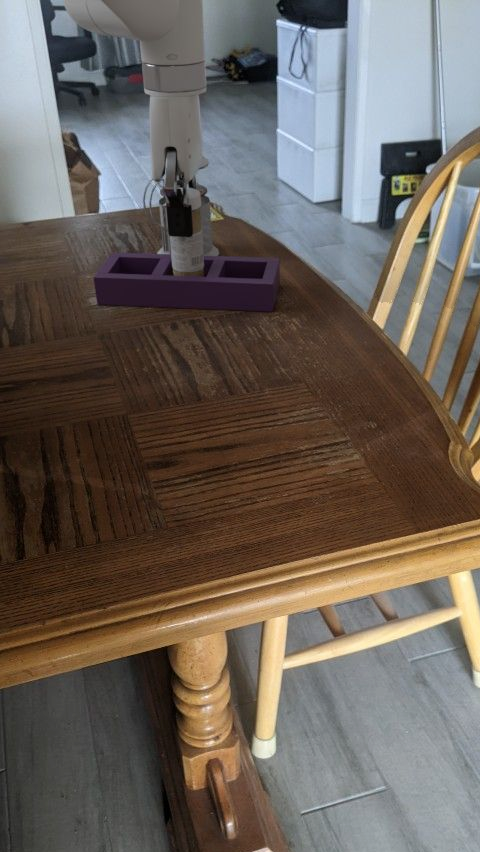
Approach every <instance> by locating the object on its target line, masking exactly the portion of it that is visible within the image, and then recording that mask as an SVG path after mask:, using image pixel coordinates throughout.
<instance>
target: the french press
mask: <svg viewBox="0 0 480 852" xmlns="http://www.w3.org/2000/svg"><path fill="white" fill-rule="evenodd" d="M209 163H210V161H209V159H208V158H207V157H205V156H203V155H202V164H201V166H200V168H199V170H198V171H200V170H203V169H205V168H206V167H208V166H209ZM153 181H154V180H153V178H152V177H151V179H150V180H149V181H148V182H147V184H146V186H145V189H144V192H143V197H142V203H143V211H144V214H145V217H146V218H147V220H148V222H150V223H151V224H152V225H154V226H157V227H158V228H160V229H161V236H162V237H161V239H162V240H161V241H162V247H161V248H159V250H158V251H157V253H156V254H171V246H170V236H169V234H168V222H167V210H166V206H165V207H164V208H163V206H164V205H166V192H165V178H162V179H161V180H160V181H159V182H156V183H154V185H153V187H152V189H151V192H150V196H149V202H148V204H149V213H150V216H151V218H152V220H151V218H150V216H149V214H148V212H147V206H146V196H147V195H146V194H147V191H148V188H149V186H150V184H152V182H153ZM161 182H163V183H162V184H163V185H161V184H160V183H161ZM156 187H159V188H161V189H160V190H159V194H160V196H162V197H161V198H160V199H159V200H158V206H159V216H160V217H159V219H160V224H159V223H158V222H157V221H156V219H155V217H154V214H153V210H152V200H153V195H154V191H155V190H156ZM198 191H199V192H200V196H201V206H200V217H201V229H202V238H203V256H220V251H219V248H218V247H216V246H215V245H214V244H213V235H212V234H213V233H212V232H213V231H212V220H211V216H212V214H211V200H210V198H209V196H207V193H208V188H207V187H206V186H205V185H202V184H200V183H198ZM164 215H165V216H164ZM164 223H165V224H164ZM165 231H166V233H165Z"/></svg>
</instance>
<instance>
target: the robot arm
mask: <svg viewBox="0 0 480 852" xmlns="http://www.w3.org/2000/svg"><path fill="white" fill-rule="evenodd" d="M62 3H63V4H62V5H63V6H64V9H65V11H66V13H67V14H68V16H69V17H70V18H71V20H72V21H73V22H74V23H75V24H77V25H78V26H79V27H81V28H82V29H84V30H85V31H88V32H90V33H93V34H96V35H101V36H107V37H113V38H121V39H127V40H134V41H139V47H140V60H141V70H142V81H143V82H142V83H143V92H144V94H146V95H148V96H149V115H148V116H149V144H150V146H149V147H150V159H151V160H150V161H151V163H150V164H151V179H152V178H153V180H152V181H154V182H156V183H157V182H159V181H160V180H161V179H164V180H165V192H166V203H165V207H166V210H167V222H168V234H169V236H172V237H192V235H193V221H192V205H189V188H193V189H196V190H198V185H199V178H198V172H199V171H200V170H199V168H200V166H201V164H202V156H203V134H202V133H203V132H202V117H201V107H200V106H201V102H200V95H202V94H205V93H206V92H207V70H206V69H207V68H206V51H205V49H206V48H205V27H204V7H203V6H204V5H203V0H62ZM163 177H164V178H163ZM159 183H160V182H159ZM178 188H183V192H182V191H181V189H178ZM182 193H183V194H182Z"/></svg>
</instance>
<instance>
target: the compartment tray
mask: <svg viewBox="0 0 480 852" xmlns="http://www.w3.org/2000/svg"><path fill="white" fill-rule="evenodd" d="M280 259H281V258H280V257H258V256H257V257H256V256H255V257H253V256H227V255H226V256H225V255H218V256H204V267H203V269H204V277H195V276H173V267H172V258H171V254H157V253H142V252H141V253H139V252H115V251H114V252H111V253H110V254H109V255H108V257H107V258H106V259H105V261H104V262H103V263H102V265H101V266H100V268H99V269H98V271H96V273H95V274H94V276H93V284H94V291H95V297H96V304H97V305H98V306H118V307H119V306H120V307H122V306H123V307H143V308H144V307H147V308H148V307H149V308H169V309H172V308H173V309H194V310H196V309H198V310H220V311H221V310H222V311H244V312H245V311H246V312H266V313H267V312H270V313H273V312H274V309H275V305H276V301H277V297H278V293H279V289H280V285H281V282H280V281H281V278H280V277H281V273H280V271H281V270H280V269H281V266H280V265H281V260H280Z"/></svg>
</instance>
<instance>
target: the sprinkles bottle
mask: <svg viewBox="0 0 480 852" xmlns="http://www.w3.org/2000/svg"><path fill="white" fill-rule="evenodd" d="M178 189H181V191H182V192H183V188H178ZM182 194H183V193H182ZM189 205H192V221H193V235H192V237H172V236H170V246H171V258H172V267H173V276H195V277H204V269H203V267H204V256H203V238H202V229H201V217H200V206H201V196H200V192H199V191H198V190H196V189H193V188H189Z"/></svg>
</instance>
